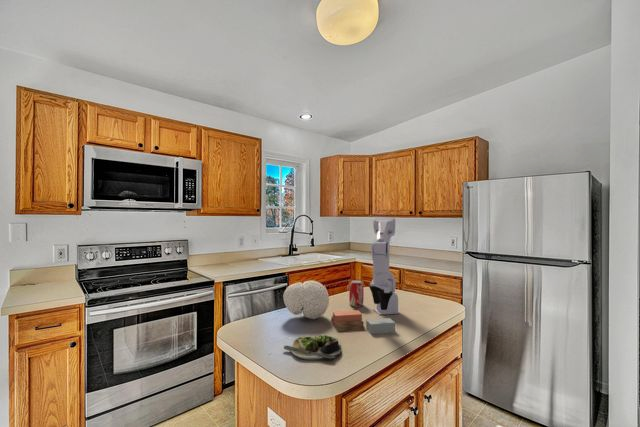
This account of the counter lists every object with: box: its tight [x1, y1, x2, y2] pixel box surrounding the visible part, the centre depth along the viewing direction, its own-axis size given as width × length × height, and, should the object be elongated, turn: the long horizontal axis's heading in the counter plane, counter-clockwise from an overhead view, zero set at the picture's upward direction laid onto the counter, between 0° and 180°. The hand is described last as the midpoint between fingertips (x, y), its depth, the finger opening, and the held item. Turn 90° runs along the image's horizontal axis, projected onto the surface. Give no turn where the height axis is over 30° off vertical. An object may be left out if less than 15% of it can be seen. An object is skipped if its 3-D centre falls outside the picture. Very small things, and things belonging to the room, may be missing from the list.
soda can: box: [348, 279, 364, 308], centre depth 151 cm, size 7×7×12 cm
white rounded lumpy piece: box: [282, 279, 330, 320], centre depth 132 cm, size 20×18×16 cm
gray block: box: [365, 317, 396, 335], centre depth 119 cm, size 10×5×4 cm, turn 101°
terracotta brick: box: [332, 310, 363, 326], centre depth 125 cm, size 11×5×4 cm, turn 100°
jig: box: [330, 315, 366, 332], centre depth 125 cm, size 11×12×2 cm
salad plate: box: [283, 334, 342, 361], centre depth 102 cm, size 19×18×5 cm
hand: (380, 306), depth 119 cm, fingers open, 7 cm apart
